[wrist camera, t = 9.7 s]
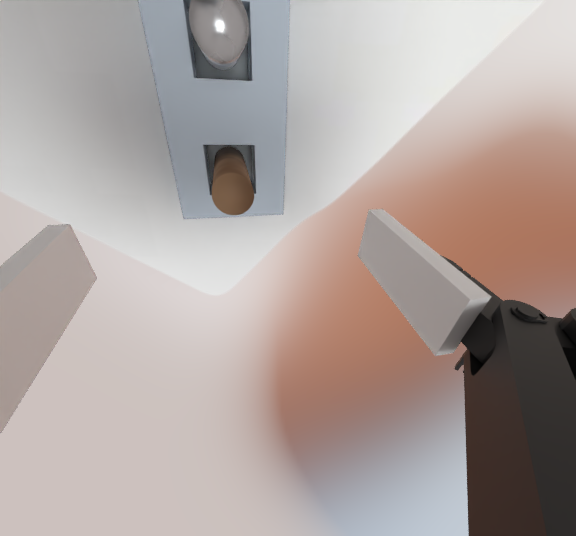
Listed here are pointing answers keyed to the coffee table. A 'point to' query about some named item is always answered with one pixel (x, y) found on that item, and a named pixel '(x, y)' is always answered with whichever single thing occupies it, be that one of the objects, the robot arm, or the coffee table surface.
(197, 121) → the socket block
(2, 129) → the coffee table surface
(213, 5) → the grey steel peg
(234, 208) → the walnut peg
